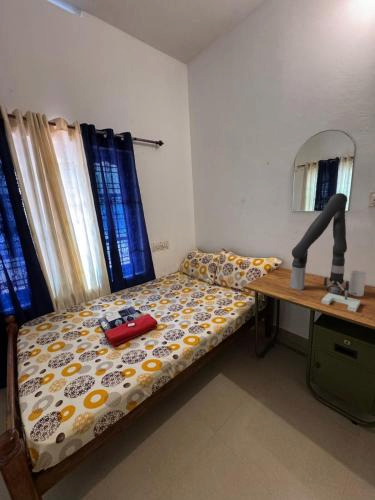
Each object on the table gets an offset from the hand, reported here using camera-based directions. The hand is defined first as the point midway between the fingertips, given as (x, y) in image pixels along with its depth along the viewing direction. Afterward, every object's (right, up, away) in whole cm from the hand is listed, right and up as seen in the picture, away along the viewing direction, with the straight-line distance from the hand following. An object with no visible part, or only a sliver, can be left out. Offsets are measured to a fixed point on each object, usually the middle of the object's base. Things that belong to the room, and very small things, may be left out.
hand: (335, 293), depth 152 cm
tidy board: (-5, -4, -12) cm, 13 cm away
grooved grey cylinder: (0, -1, 0) cm, 1 cm away
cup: (+15, -1, 0) cm, 15 cm away
